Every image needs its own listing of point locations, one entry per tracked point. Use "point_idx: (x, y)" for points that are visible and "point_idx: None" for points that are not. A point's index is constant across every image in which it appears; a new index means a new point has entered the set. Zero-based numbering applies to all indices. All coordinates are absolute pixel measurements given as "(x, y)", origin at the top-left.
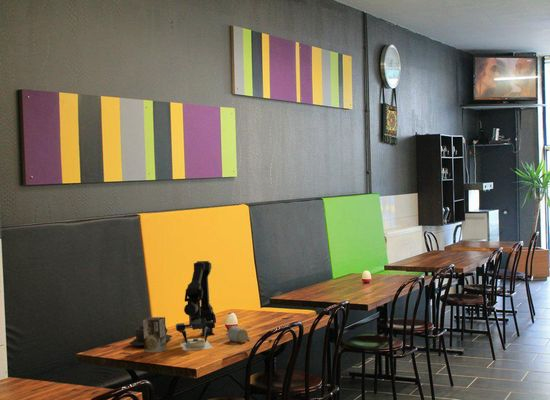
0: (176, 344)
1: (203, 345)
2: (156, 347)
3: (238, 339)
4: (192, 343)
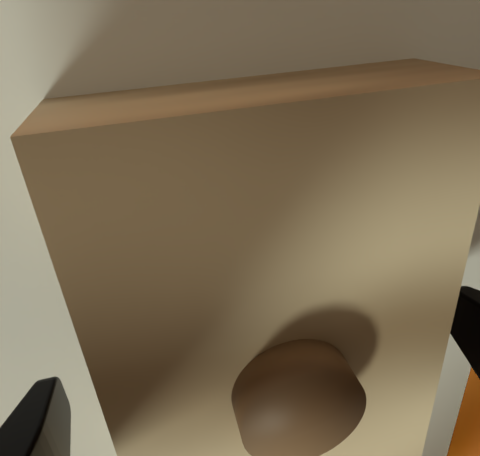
0: (472, 431)
1: (75, 103)
2: None
3: None
4: (444, 85)
